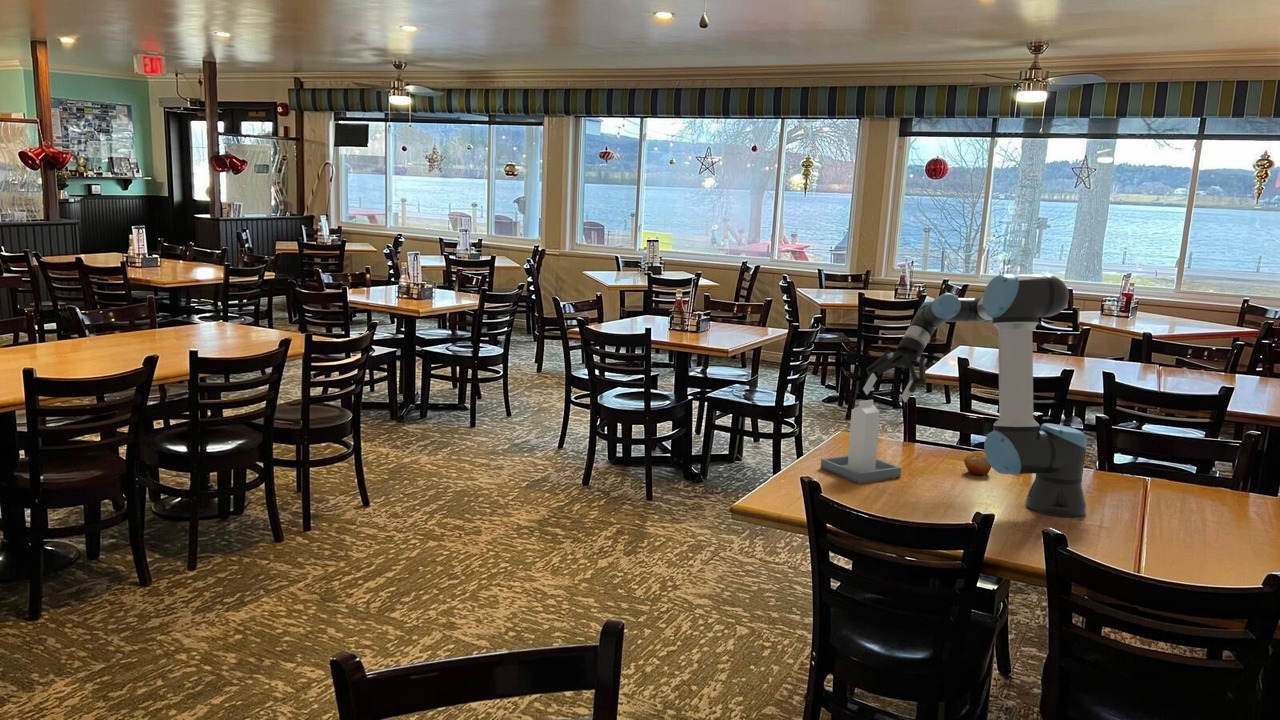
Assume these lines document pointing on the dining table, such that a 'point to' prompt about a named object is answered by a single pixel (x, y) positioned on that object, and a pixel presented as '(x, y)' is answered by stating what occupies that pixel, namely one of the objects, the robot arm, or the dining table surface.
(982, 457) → the fruit
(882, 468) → the tray
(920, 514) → the dining table surface
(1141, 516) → the dining table surface
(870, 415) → the milk
